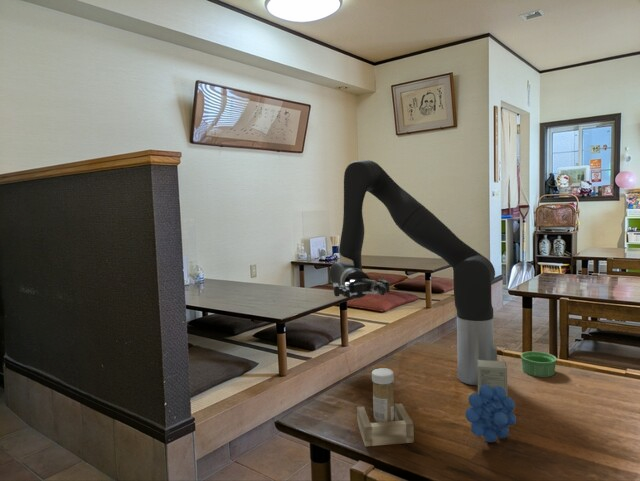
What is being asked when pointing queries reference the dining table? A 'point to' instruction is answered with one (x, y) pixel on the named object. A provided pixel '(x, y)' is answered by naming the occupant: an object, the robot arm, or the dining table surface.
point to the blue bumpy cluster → (491, 413)
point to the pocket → (386, 428)
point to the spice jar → (383, 395)
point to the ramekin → (538, 363)
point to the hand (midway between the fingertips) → (365, 292)
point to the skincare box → (492, 374)
